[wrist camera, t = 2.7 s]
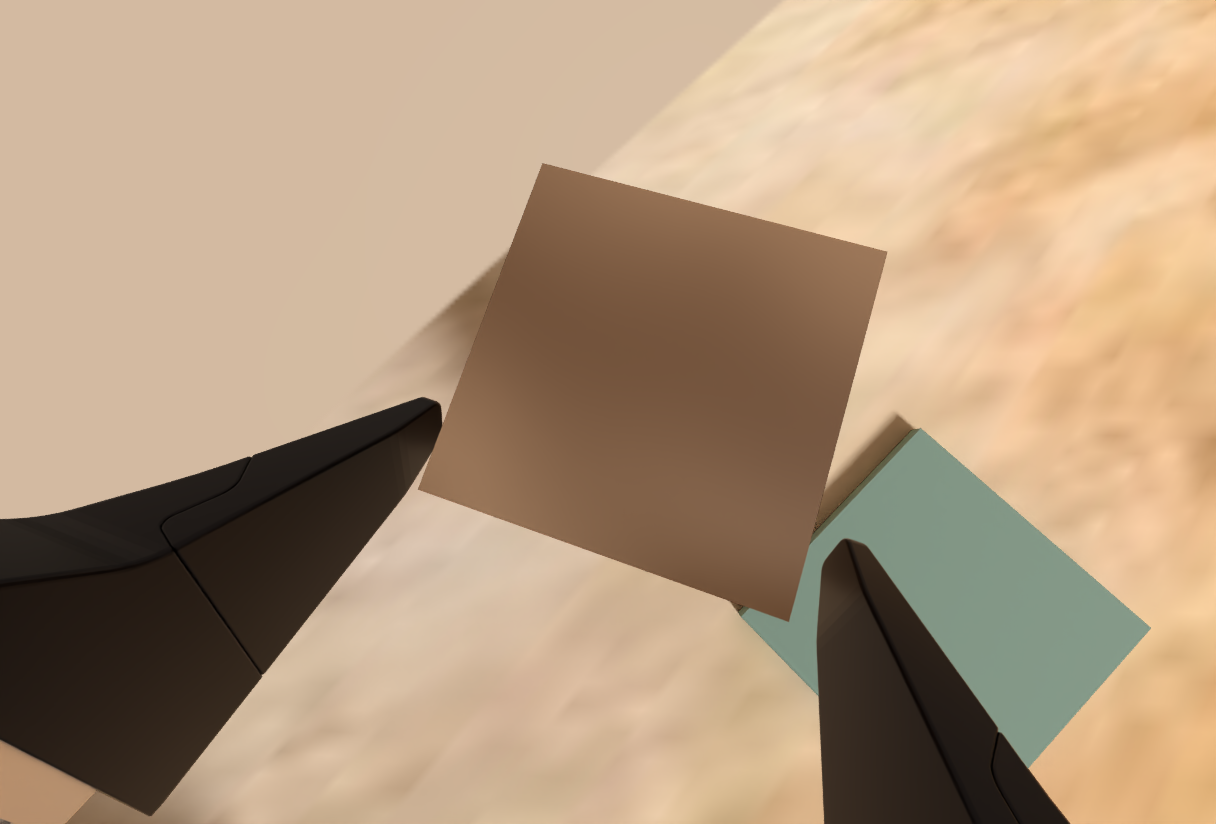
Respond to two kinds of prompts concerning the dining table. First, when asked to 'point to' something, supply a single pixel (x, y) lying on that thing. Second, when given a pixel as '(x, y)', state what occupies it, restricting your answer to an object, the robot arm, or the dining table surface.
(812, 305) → the letter block
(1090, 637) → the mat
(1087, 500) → the dining table surface
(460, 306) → the dining table surface
